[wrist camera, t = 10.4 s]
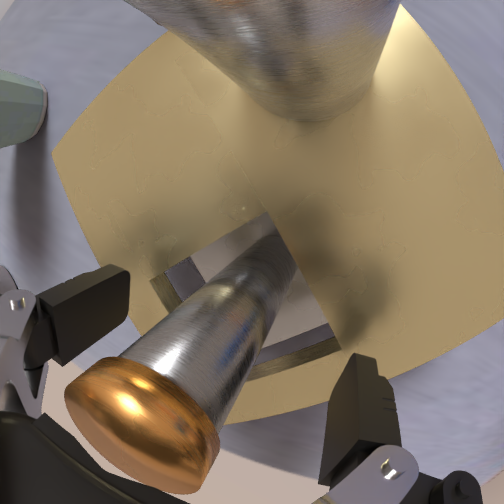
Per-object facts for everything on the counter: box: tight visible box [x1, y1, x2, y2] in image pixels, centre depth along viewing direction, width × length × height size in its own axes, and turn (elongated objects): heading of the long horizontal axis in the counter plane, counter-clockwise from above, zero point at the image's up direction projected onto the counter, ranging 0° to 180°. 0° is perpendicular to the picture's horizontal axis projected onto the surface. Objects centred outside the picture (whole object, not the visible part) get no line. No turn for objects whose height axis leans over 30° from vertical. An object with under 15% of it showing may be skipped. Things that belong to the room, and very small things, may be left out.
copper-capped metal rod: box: [64, 235, 298, 494], centre depth 11 cm, size 3×3×14 cm
